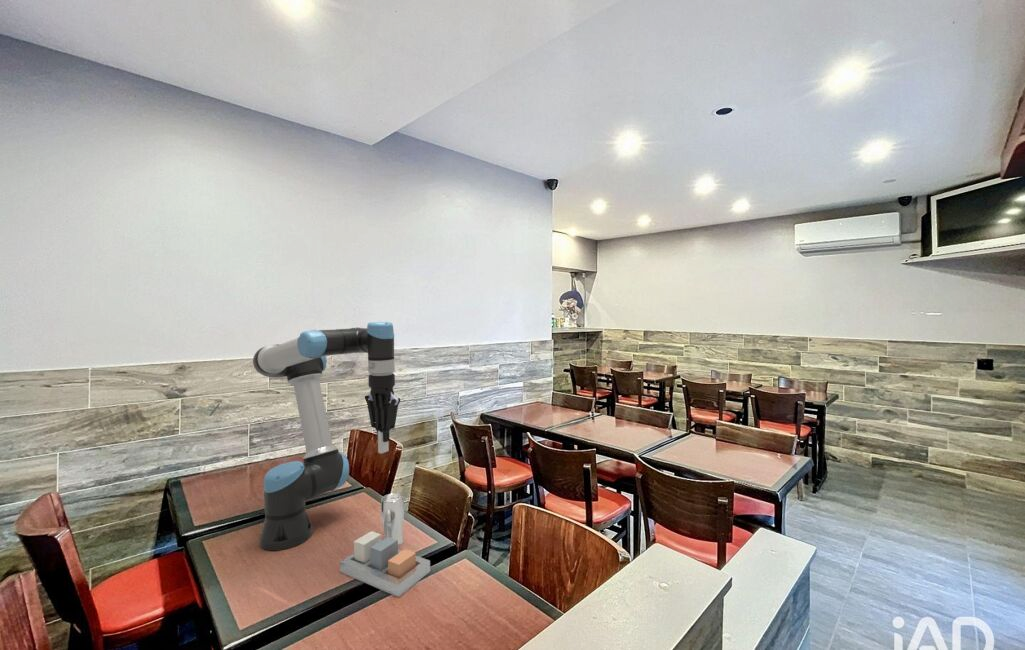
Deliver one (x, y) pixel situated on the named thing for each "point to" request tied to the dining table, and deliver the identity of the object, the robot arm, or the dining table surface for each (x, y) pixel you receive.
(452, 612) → the dining table surface
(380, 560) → the slate key
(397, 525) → the beer glass
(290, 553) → the dining table surface
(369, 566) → the grey tray
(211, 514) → the dining table surface
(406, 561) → the orange block
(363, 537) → the cream block
